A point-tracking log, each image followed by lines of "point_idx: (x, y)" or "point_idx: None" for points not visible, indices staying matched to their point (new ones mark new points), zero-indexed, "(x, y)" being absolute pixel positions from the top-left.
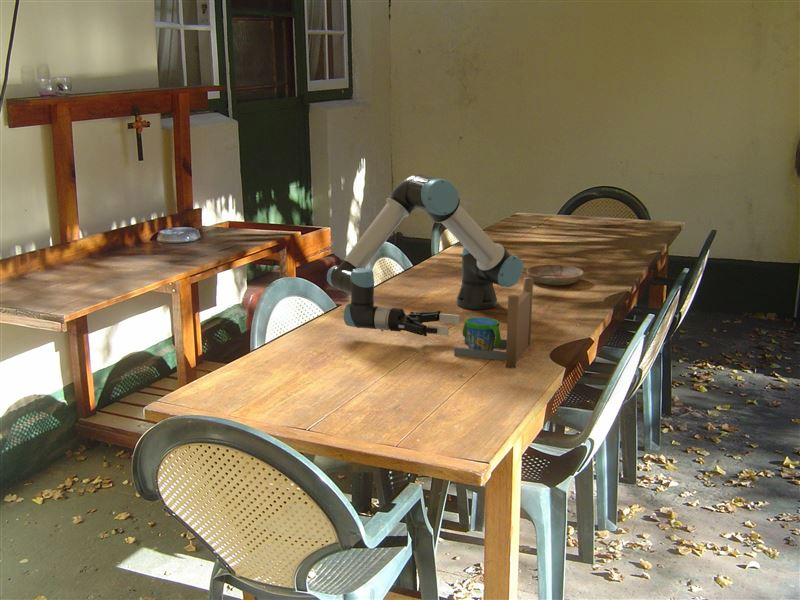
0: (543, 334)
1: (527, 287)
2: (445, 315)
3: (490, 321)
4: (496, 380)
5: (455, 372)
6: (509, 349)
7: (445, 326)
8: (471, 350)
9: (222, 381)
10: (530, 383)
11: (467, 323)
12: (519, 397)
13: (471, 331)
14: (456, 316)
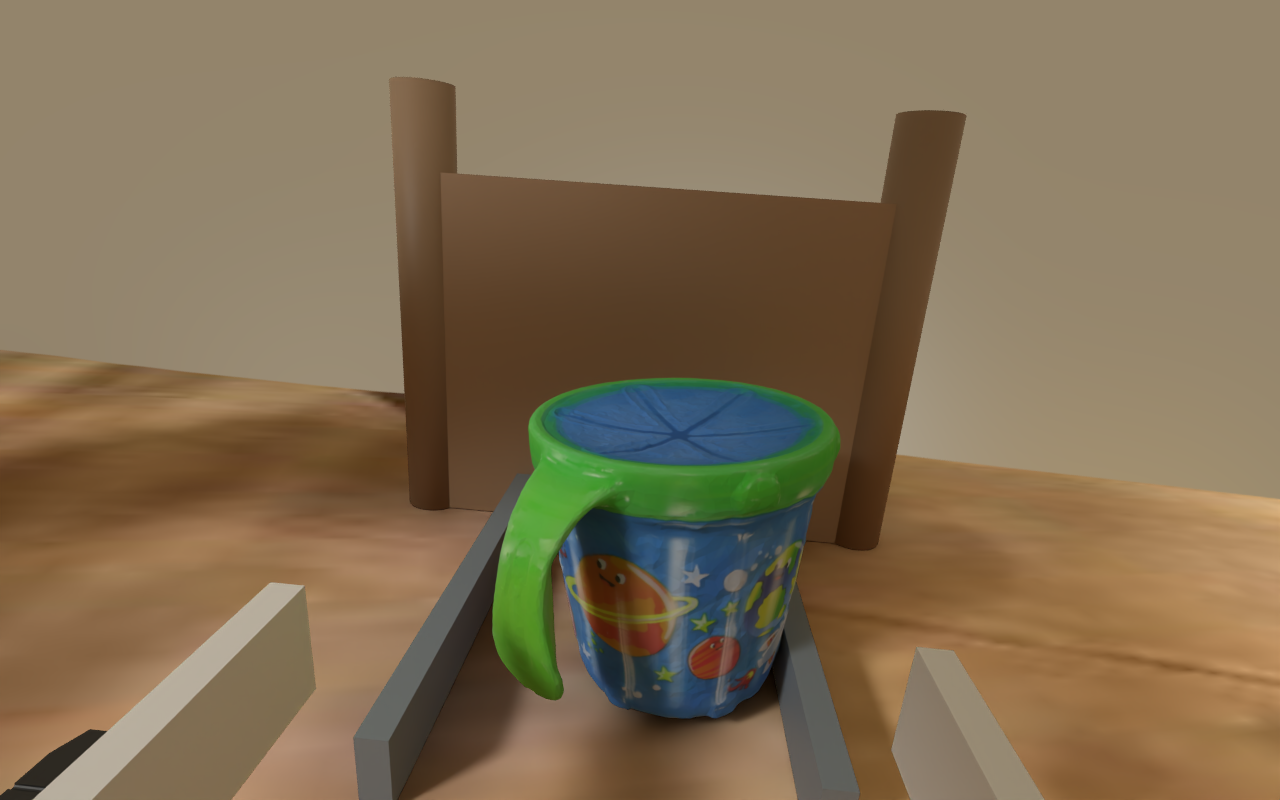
0: (272, 455)
1: (455, 145)
2: (126, 782)
3: (615, 406)
4: (1103, 573)
5: (1266, 780)
6: (898, 443)
7: (940, 678)
8: (816, 660)
9: None
10: (1001, 492)
11: (804, 471)
12: (1191, 514)
13: (806, 518)
14: (282, 620)
